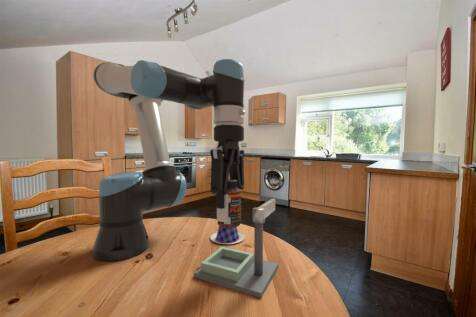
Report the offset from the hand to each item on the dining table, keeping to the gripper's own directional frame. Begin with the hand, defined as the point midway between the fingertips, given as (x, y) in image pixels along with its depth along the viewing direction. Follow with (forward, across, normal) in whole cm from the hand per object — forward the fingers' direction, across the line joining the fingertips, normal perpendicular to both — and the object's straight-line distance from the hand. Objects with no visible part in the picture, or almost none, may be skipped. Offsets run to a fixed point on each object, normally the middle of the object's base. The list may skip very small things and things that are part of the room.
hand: (229, 217), depth 54 cm
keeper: (0, +5, -8) cm, 9 cm away
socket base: (+13, 0, -3) cm, 14 cm away
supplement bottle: (+2, 0, 0) cm, 2 cm away
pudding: (+14, +18, +10) cm, 25 cm away
